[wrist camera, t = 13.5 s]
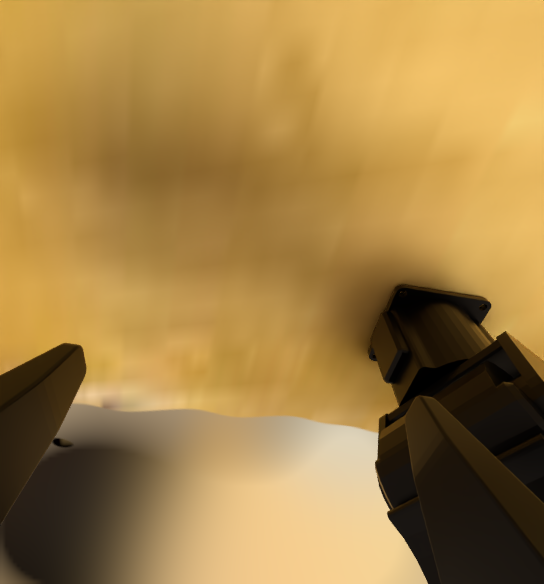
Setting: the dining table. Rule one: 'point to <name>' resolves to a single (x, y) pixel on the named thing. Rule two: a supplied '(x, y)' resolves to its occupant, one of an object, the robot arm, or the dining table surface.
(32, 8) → the dining table surface
